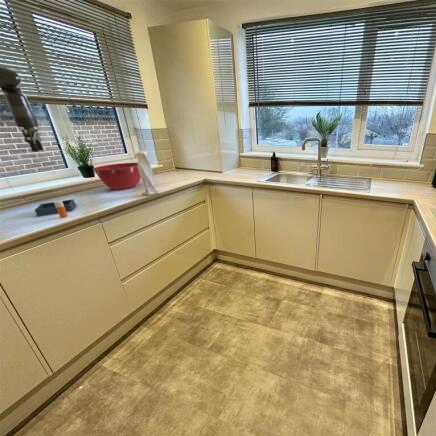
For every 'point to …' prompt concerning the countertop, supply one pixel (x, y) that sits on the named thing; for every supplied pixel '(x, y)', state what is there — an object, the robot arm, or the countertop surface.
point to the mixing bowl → (119, 175)
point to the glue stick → (61, 209)
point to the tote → (54, 208)
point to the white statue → (146, 173)
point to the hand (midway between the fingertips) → (38, 150)
